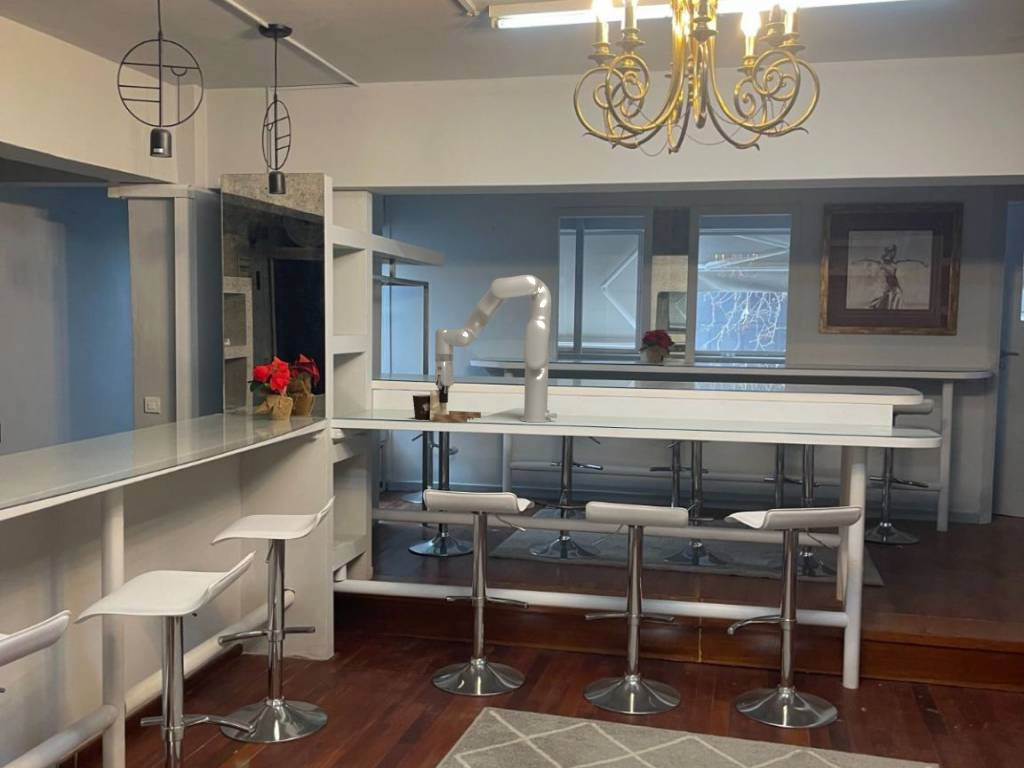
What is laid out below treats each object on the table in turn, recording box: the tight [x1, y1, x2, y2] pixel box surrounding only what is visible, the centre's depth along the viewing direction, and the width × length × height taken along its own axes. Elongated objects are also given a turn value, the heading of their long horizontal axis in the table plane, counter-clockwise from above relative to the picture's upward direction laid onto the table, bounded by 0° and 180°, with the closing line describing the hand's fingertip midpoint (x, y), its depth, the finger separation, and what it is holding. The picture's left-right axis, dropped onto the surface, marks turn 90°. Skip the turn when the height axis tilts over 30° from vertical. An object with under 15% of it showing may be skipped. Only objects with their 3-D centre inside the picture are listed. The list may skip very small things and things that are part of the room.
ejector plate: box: [429, 389, 448, 421], centre depth 399 cm, size 2×14×12 cm, turn 161°
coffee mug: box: [412, 394, 430, 421], centre depth 399 cm, size 12×9×10 cm
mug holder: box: [433, 410, 482, 424], centre depth 397 cm, size 14×17×3 cm
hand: (443, 402), depth 399 cm, fingers closed
